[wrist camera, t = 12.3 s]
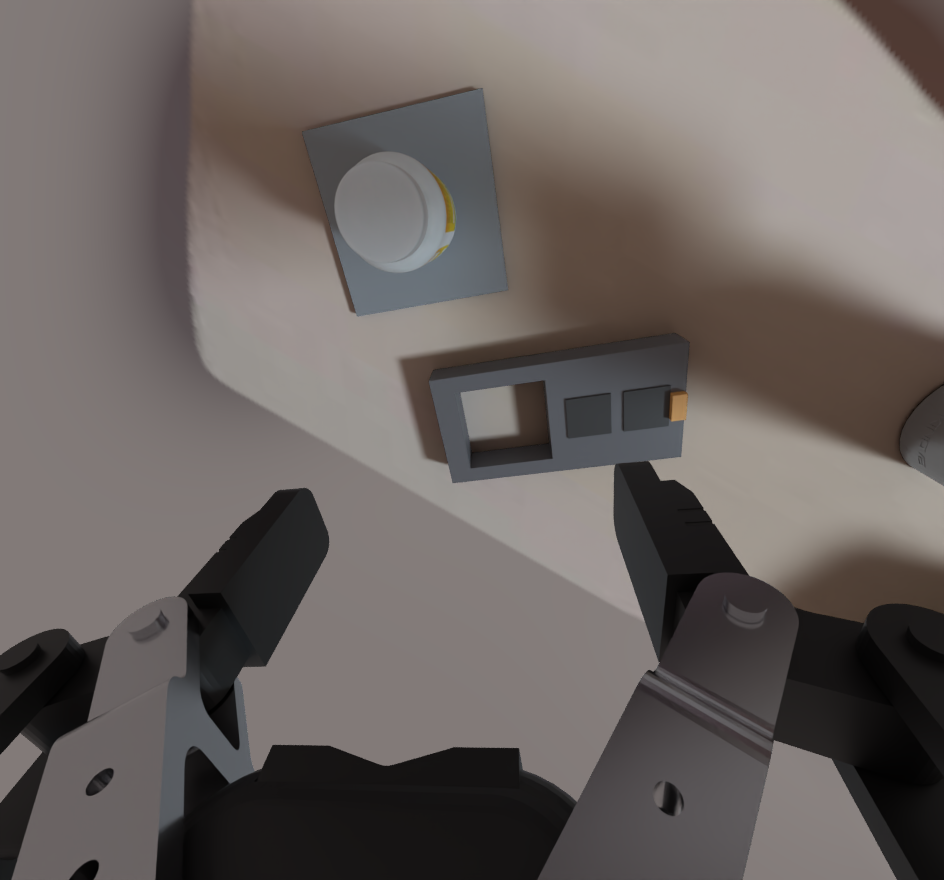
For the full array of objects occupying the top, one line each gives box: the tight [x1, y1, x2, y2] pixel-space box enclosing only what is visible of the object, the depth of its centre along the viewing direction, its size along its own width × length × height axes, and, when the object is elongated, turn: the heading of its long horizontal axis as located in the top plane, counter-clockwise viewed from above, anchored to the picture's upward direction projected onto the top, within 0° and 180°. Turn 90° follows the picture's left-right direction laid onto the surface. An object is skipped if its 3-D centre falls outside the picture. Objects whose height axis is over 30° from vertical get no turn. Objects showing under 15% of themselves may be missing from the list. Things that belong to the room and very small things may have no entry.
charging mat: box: [302, 88, 508, 316], centre depth 27 cm, size 11×11×1 cm
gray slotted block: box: [429, 333, 690, 483], centre depth 31 cm, size 18×9×3 cm, turn 100°
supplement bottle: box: [334, 151, 456, 273], centre depth 22 cm, size 5×5×10 cm
